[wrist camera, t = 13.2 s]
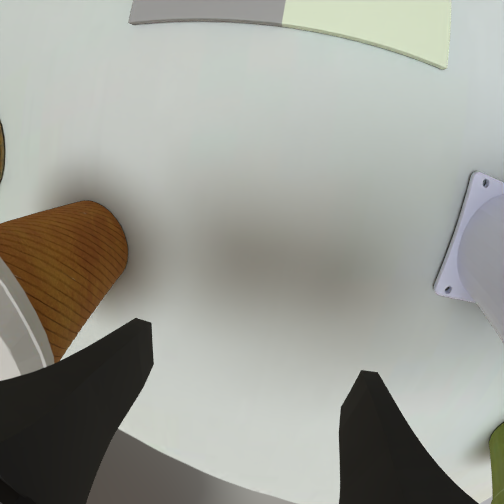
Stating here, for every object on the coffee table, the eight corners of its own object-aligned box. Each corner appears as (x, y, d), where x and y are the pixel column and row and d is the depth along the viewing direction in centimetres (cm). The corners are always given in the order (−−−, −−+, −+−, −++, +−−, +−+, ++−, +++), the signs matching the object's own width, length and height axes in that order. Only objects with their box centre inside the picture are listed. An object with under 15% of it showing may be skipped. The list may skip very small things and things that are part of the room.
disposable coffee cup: (45, 171, 19) (-89, 227, 8) (152, 187, 18) (-7, 277, 7) (55, 282, 23) (-41, 364, 12) (149, 314, 22) (59, 439, 11)
